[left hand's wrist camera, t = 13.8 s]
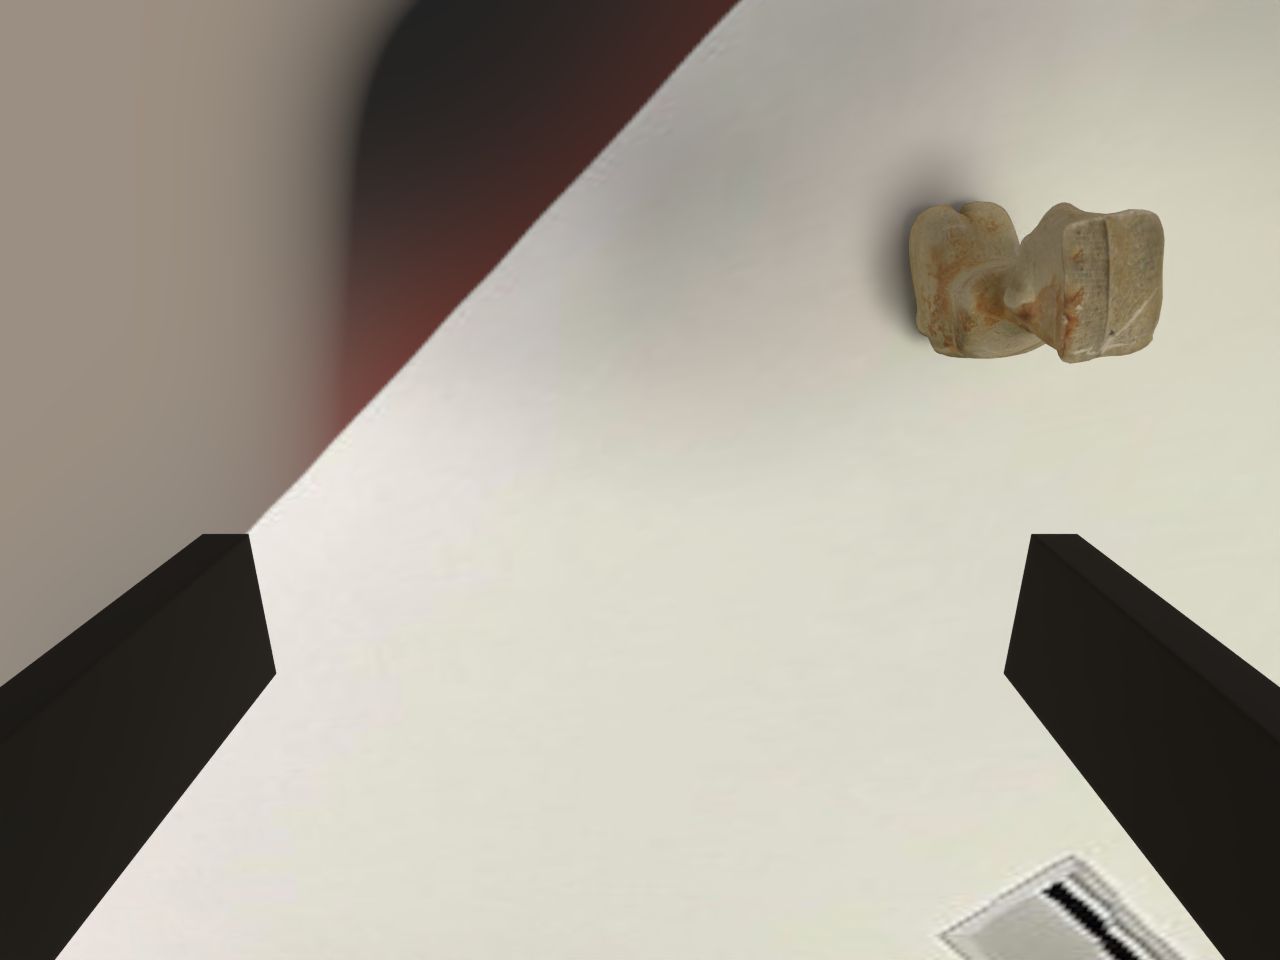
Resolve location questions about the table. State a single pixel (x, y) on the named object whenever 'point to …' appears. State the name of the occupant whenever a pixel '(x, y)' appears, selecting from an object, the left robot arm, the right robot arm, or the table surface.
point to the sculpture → (1037, 281)
